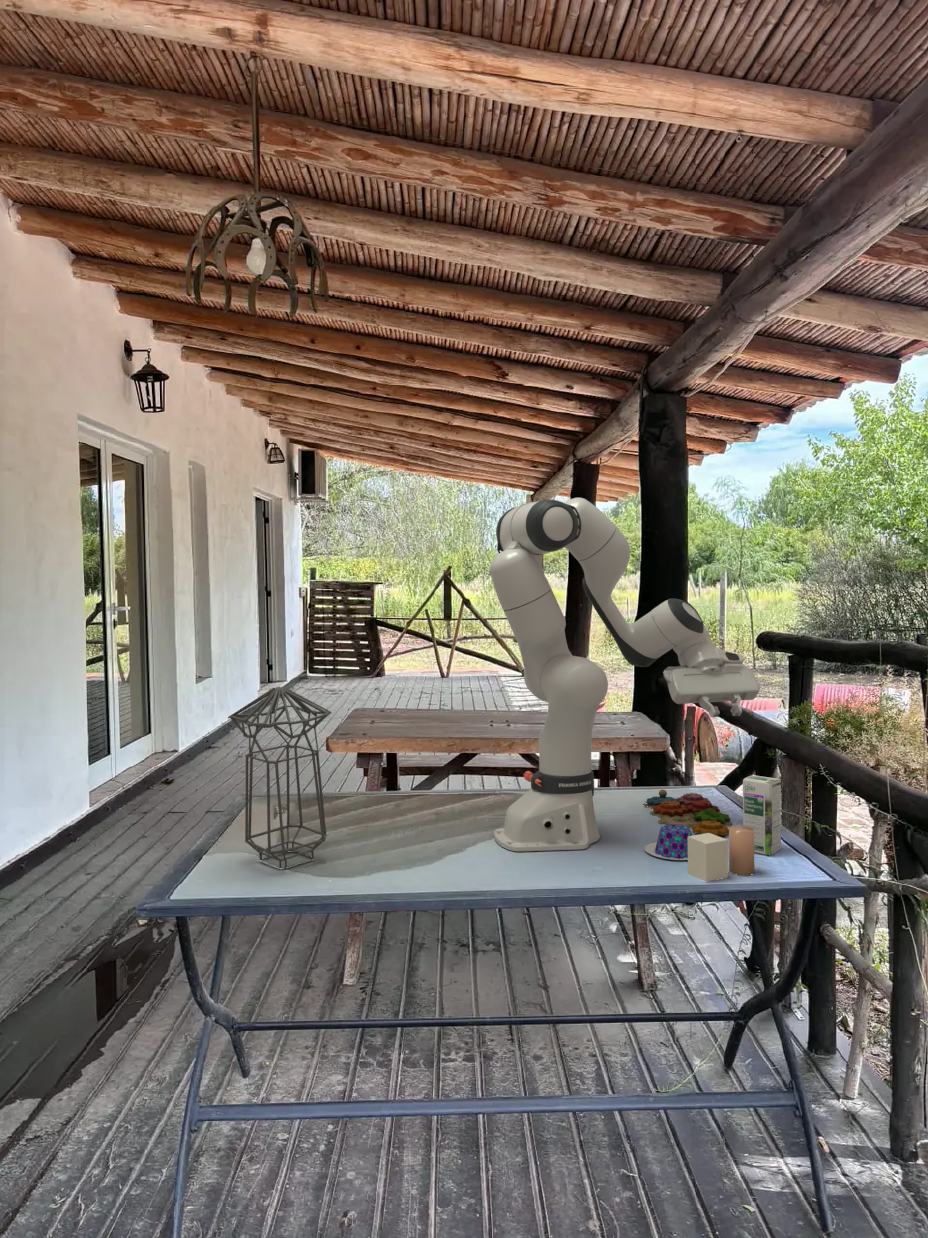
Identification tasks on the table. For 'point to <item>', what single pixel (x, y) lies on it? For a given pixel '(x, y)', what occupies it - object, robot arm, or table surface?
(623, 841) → the table surface
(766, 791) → the syrup box
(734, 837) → the terracotta cylinder
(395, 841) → the table surface
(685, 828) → the pudding
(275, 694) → the geometric lantern
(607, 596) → the robot arm
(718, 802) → the table surface
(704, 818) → the gear puzzle
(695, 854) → the cream block
